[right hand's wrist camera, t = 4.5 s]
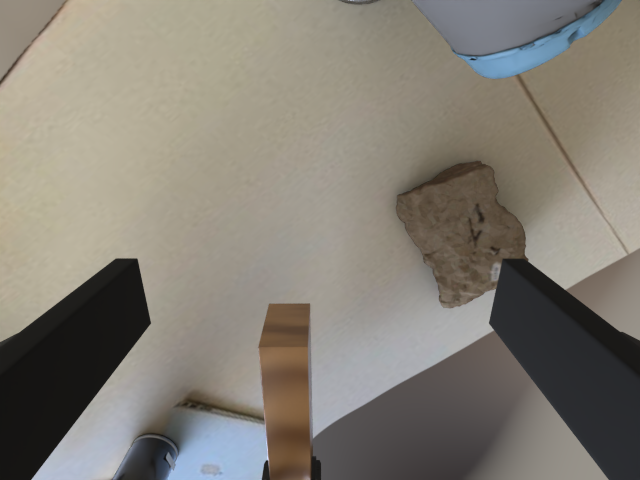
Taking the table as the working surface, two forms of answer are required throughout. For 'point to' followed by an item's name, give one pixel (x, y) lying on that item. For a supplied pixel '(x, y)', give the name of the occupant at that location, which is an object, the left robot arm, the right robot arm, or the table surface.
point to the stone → (462, 231)
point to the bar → (287, 390)
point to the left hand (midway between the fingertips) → (293, 460)
